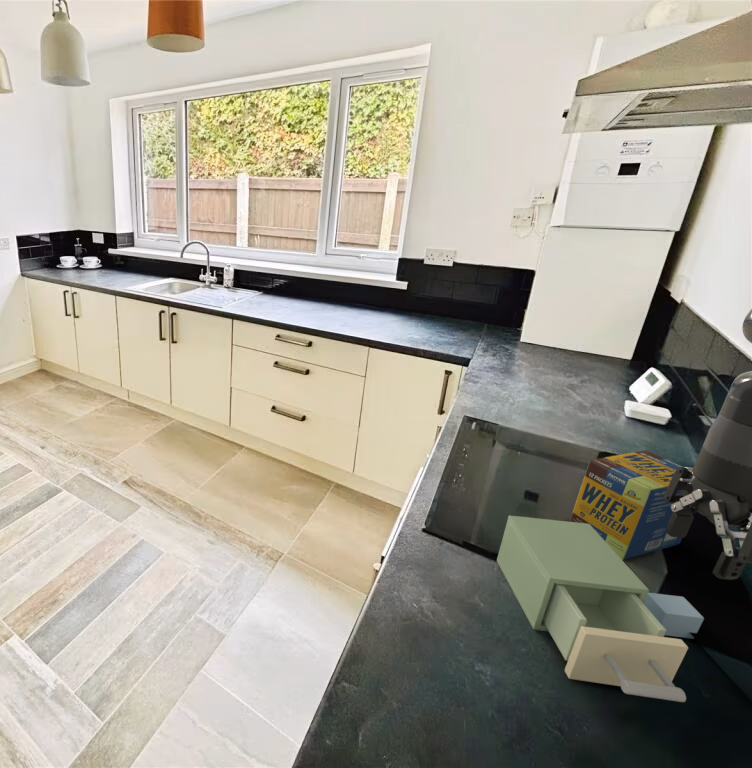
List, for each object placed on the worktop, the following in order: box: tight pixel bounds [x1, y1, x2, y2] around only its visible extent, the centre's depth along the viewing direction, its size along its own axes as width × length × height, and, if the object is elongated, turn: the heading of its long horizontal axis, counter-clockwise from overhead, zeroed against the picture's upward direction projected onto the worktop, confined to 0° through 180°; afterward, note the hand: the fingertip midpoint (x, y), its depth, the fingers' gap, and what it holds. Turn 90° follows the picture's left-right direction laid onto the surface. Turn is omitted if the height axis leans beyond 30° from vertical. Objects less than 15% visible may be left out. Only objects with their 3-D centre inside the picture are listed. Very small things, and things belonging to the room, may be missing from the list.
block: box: [644, 592, 705, 640], centre depth 68 cm, size 5×4×4 cm
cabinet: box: [496, 514, 650, 633], centre depth 72 cm, size 15×13×10 cm
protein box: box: [569, 449, 694, 564], centre depth 85 cm, size 10×15×16 cm
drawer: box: [542, 583, 689, 703], centre depth 61 cm, size 18×11×8 cm, turn 171°
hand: (697, 555), depth 64 cm, fingers open, 8 cm apart
